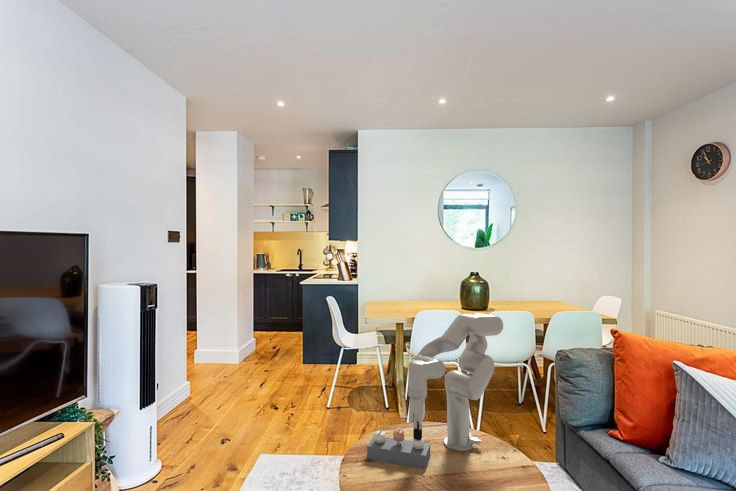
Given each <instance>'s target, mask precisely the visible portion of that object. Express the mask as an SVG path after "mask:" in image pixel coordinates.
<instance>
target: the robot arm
mask: <svg viewBox="0 0 736 491" xmlns="http://www.w3.org/2000/svg"><path fill="white" fill-rule="evenodd" d="M503 329H504V322H503V320H502V318H501V317H500V316H498V315H493V314H485V313H479V312H476V313H471V314H469V313H460V314H458V315H457V316H456V317H455V318H454V320H453V321H452V323H450V325H449V326H448V327H447V329H446V330H445V331H444V333H443V334H442V335H441V336H440V337H439V336H438V337H437V338H435V339H433V340H432V341H430V342H428V343H427V344H425V345H423V347H422V348H421V349H420V350H419V352H417V355H416V356H415V358H414V359H413V360H410V361H409V362H408V364H407V365H408V367H407V368H408V371H407V372H408V375H407V376H408V378H407V379H408V383H407V384H408V389H407V390H408V391H407V392H408V394H407V395H408V397H409V406H408V407H409V409H408V423H409V424H412V423H413V425H412V426H413V427H412V428H413V430H412V432H413V437H412V439H413V438H414V439H418V440H421V439H422V438H423V428H422V427H423V421H424V418H425V415H426V404H425V403H426V399H427V398H428V380H429V379H430V380H431V379H437V380H438V379H441V378H442V377H443V376H444V375H445V377H444V388H445V393H446V410H447V411H446V412H447V413H446V415H447V416H446V418H447V419H446V422H447V424H446V428H447V429H446V430H447V432H446V437H445V438H444V439H443V444H444V446H445V447H446V448H448V449H449V450H452V451H456V452H468V451H470V450H472V449H473V448H474V445H479V446H481V439H479V438H478V436H477V437H475V436H472V433H471V431H470V430H471V429H470V426H471V425H470V422H471V421H470V402H469V400H473V401H477V400H479V399H480V398H481V397H482V396H483V394H484V393H485V390H487V386H489V383H490V381H491V379H492V376H493V374H494V372H495V362H494V359H493V358H492V357H491V356H490V355H488V354H485V353H486V351H487V349H488V342H487V337H491V336H498V335H500V334H501V333H502V331H503ZM468 336H469V340H468V341H467V343H466V346H465V348H464V350H463V352H462V353H461V354H460V357H459V360H458V367H459V369H461V370H462V371H460V370H453V369H452V370H450V371H448V372H447V373H446V371H447V370H446V369H447V368H446V365H445V363H444V362H443V361H442V360H440V359H436V358H435V357H436V356H438V355H440V354H444V353H449V352H454V351H457V350H458V349H460V346H462V344H463V342H464V341H465V340H466V339H467V337H468Z"/></svg>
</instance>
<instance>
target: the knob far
mask: <svg viewBox="0 0 736 491" xmlns="http://www.w3.org/2000/svg"><path fill="white" fill-rule="evenodd" d="M374 435H375V442H376V443H384V442H385V437H386V432H385V431H382V430H377V431H375V432H374Z"/></svg>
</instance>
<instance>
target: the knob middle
mask: <svg viewBox="0 0 736 491" xmlns="http://www.w3.org/2000/svg"><path fill="white" fill-rule="evenodd" d="M392 434H393V435H392V438H393V439H394V440H395V441H397V446H400V441H403V440H405V431H404V429H400V428H397V429H394V430H393V433H392Z"/></svg>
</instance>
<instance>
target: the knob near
mask: <svg viewBox="0 0 736 491" xmlns="http://www.w3.org/2000/svg"><path fill="white" fill-rule="evenodd" d="M412 441H413V448H415V449H423V448H424V443H425V439H424V437H422V439H421V440H418V439H414V438H413V437H412Z"/></svg>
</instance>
